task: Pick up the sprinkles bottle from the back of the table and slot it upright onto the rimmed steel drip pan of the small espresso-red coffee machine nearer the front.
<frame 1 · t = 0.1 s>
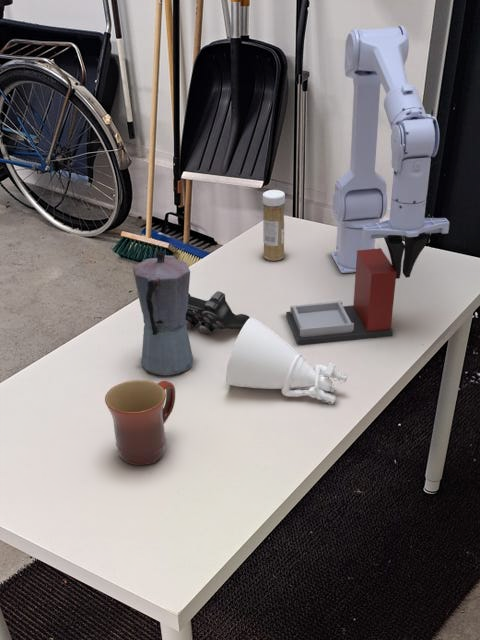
hand: (401, 275, 150), 10 cm above the table, tool pointing down, fingers closed
moka pot: (168, 366, 149), on the table
mug: (150, 449, 130), on the table
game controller: (205, 326, 159), on the table
coffee maker: (321, 327, 157), on the table
rocket engine: (281, 394, 141), on the table
sprinkles bottle: (273, 258, 181), on the table
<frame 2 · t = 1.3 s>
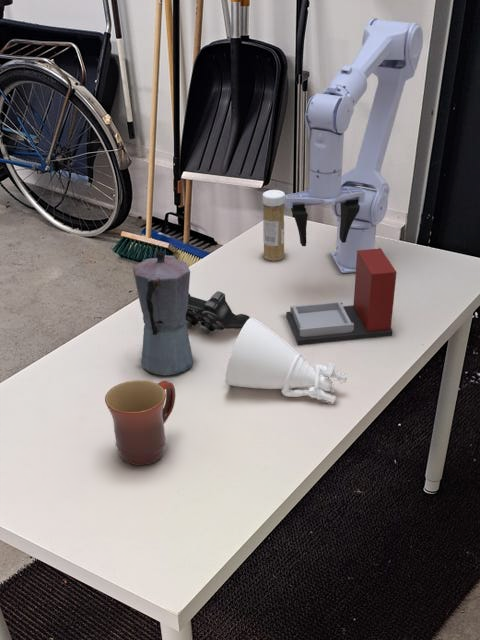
hand: (322, 242, 161), 10 cm above the table, tool pointing down, fingers open, 7 cm apart
nothing on the table moved.
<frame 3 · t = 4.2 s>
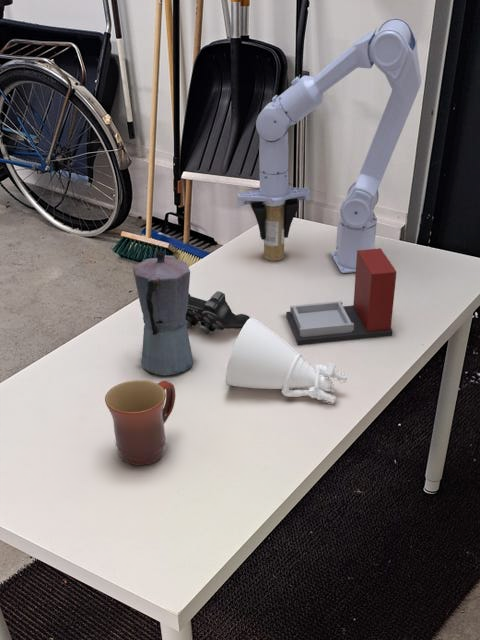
hand: (273, 236, 178), 4 cm above the table, tool pointing down, fingers closed on sprinkles bottle, 4 cm apart
sprinkles bottle: (273, 258, 181), on the table, touching gripper
everything else where it was.
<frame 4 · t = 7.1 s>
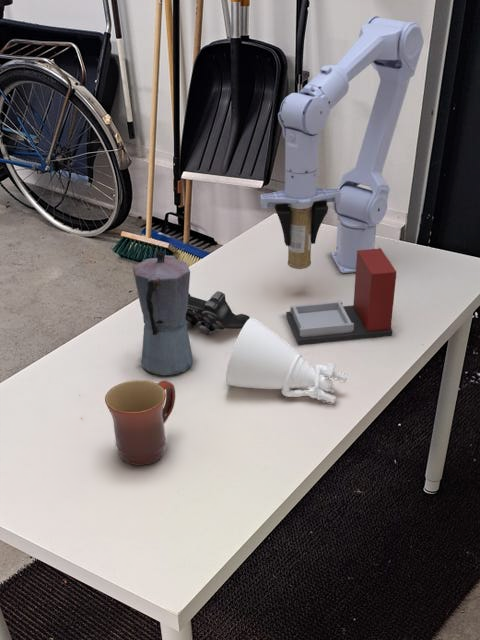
hand: (299, 242, 161), 10 cm above the table, tool pointing down, fingers closed on sprinkles bottle, 4 cm apart
sprinkles bottle: (298, 265, 164), point 6 cm above the table, touching gripper
everything else where it was.
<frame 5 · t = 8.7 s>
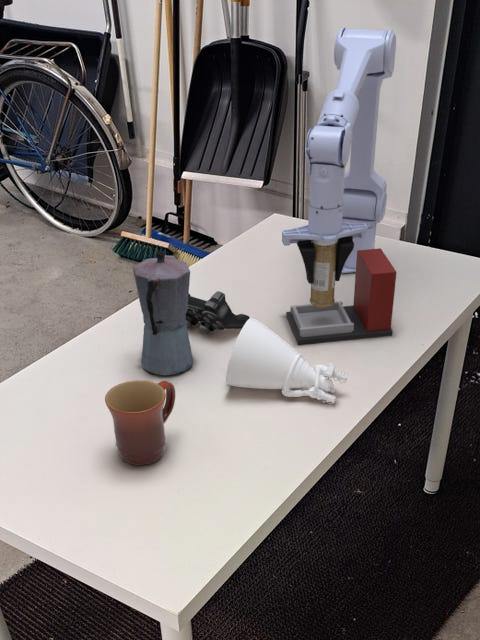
hand: (322, 279, 151), 9 cm above the table, tool pointing down, fingers closed on sprinkles bottle, 4 cm apart
sprinkles bottle: (321, 303, 154), point 5 cm above the table, touching gripper
everything else where it was.
when the fingers open (6 cm above the table, at t = 10.1 s): sprinkles bottle stays where it is, resting on coffee maker.
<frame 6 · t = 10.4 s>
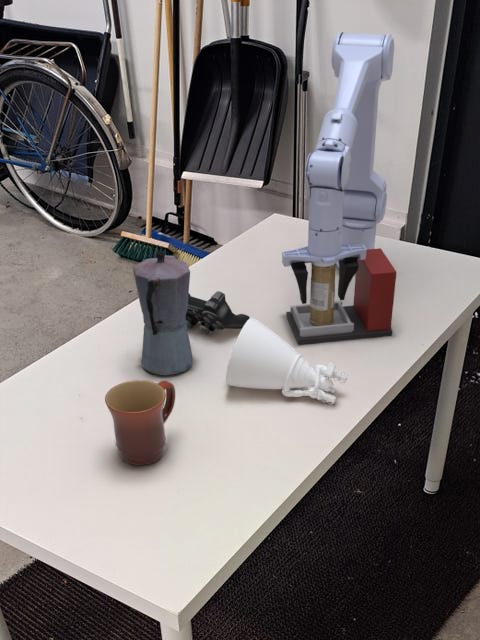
hand: (322, 299, 154), 6 cm above the table, tool pointing down, fingers open, 6 cm apart
sprinkles bottle: (321, 322, 157), point 1 cm above the table, touching coffee maker
everything else where it was.
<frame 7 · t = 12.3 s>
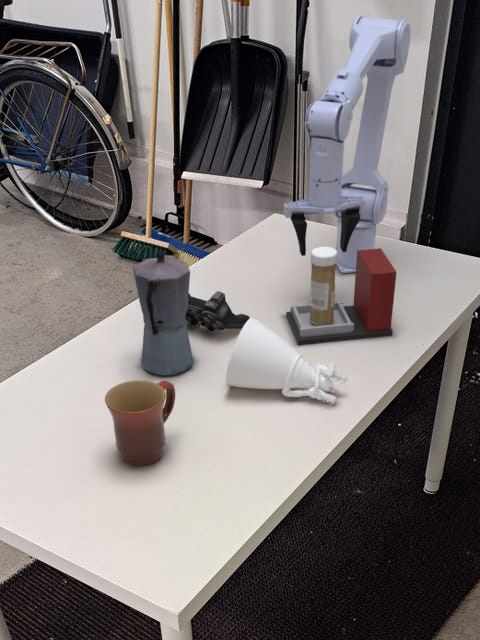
hand: (322, 251, 158), 10 cm above the table, tool pointing down, fingers open, 7 cm apart
nothing on the table moved.
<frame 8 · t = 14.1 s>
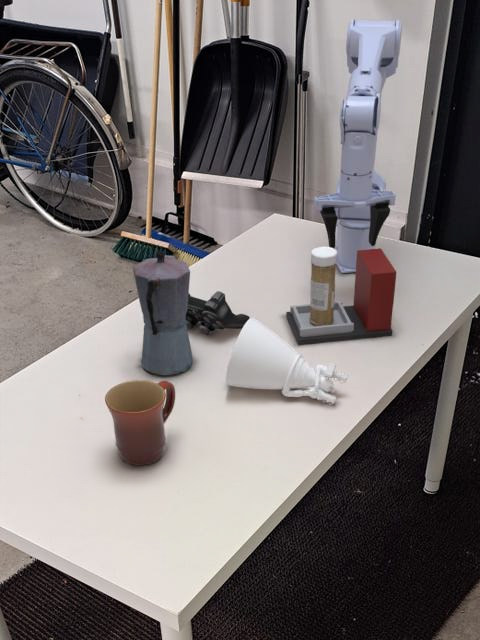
hand: (351, 245, 159), 10 cm above the table, tool pointing down, fingers open, 7 cm apart
nothing on the table moved.
at the end: sprinkles bottle 0.0 cm off-centre on the coffee maker, point 1.0 cm above the coffee maker's base; sprinkles bottle tilted 0°; the gripper is holding nothing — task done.
